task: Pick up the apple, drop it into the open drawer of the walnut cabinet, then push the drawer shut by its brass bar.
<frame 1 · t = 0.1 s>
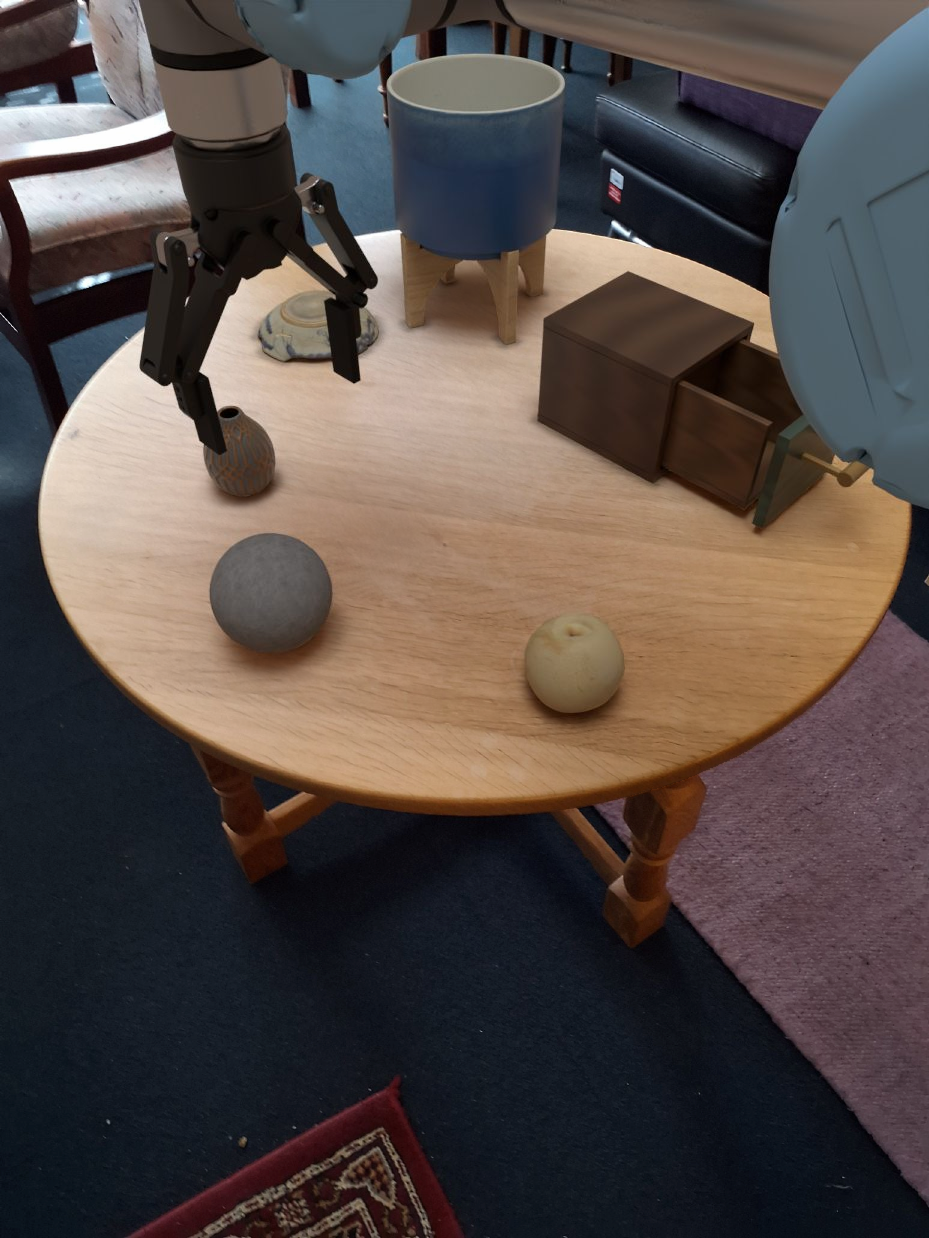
hand: (283, 410, 73), 16 cm above the table, tool pointing down, fingers open, 13 cm apart
decorative ball: (281, 634, 78), on the table
cabinet: (632, 423, 98), on the table
drawer: (768, 435, 86), point 6 cm above the table, slide at 11.0 cm
planter: (475, 310, 116), on the table
decorative bowl: (318, 334, 112), on the table
apple: (570, 689, 74), on the table
vase: (246, 485, 92), on the table
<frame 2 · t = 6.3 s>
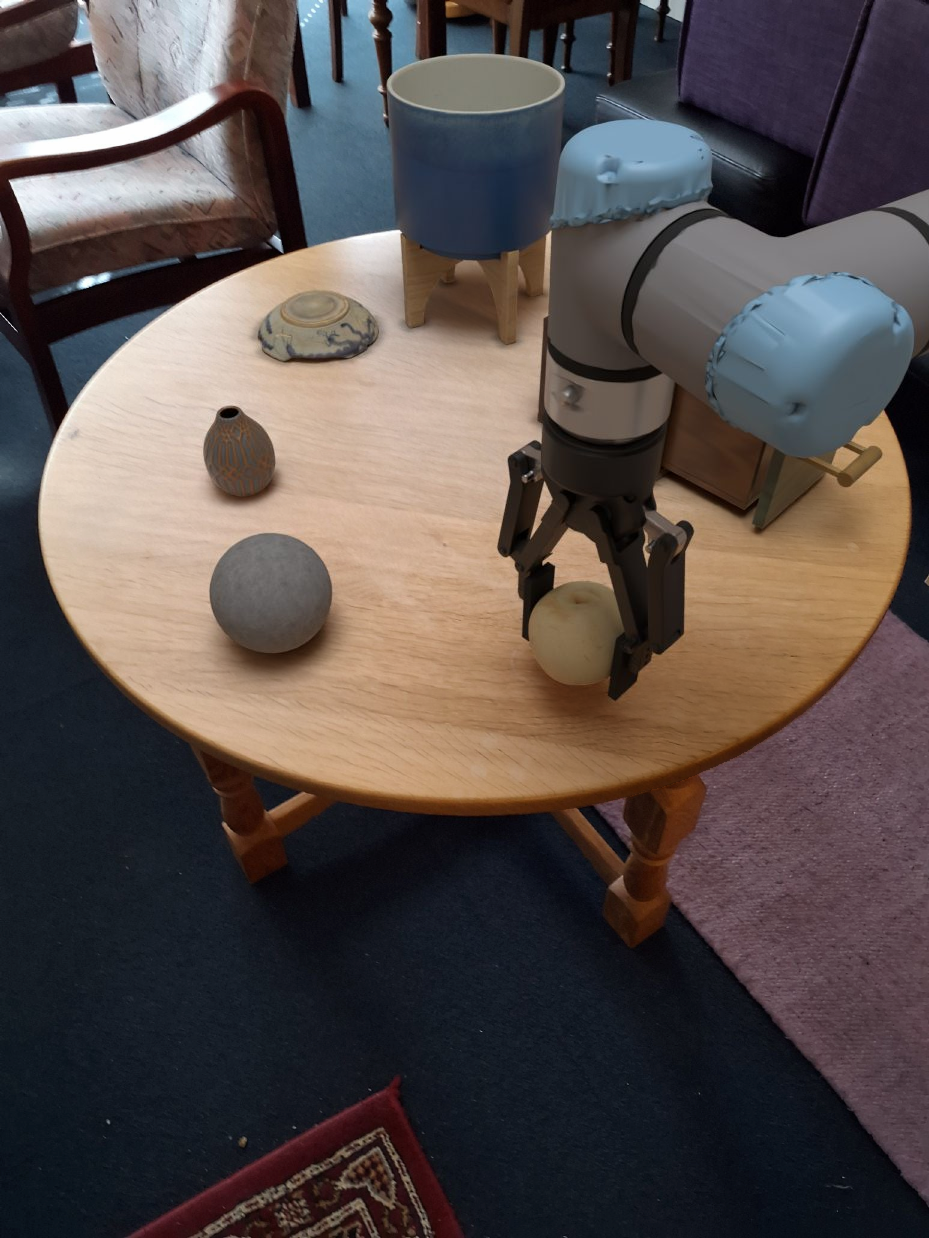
hand: (577, 658, 70), 4 cm above the table, tool pointing down, fingers closed on apple, 8 cm apart
apple: (577, 662, 71), point 4 cm above the table, touching gripper
everything else where it was.
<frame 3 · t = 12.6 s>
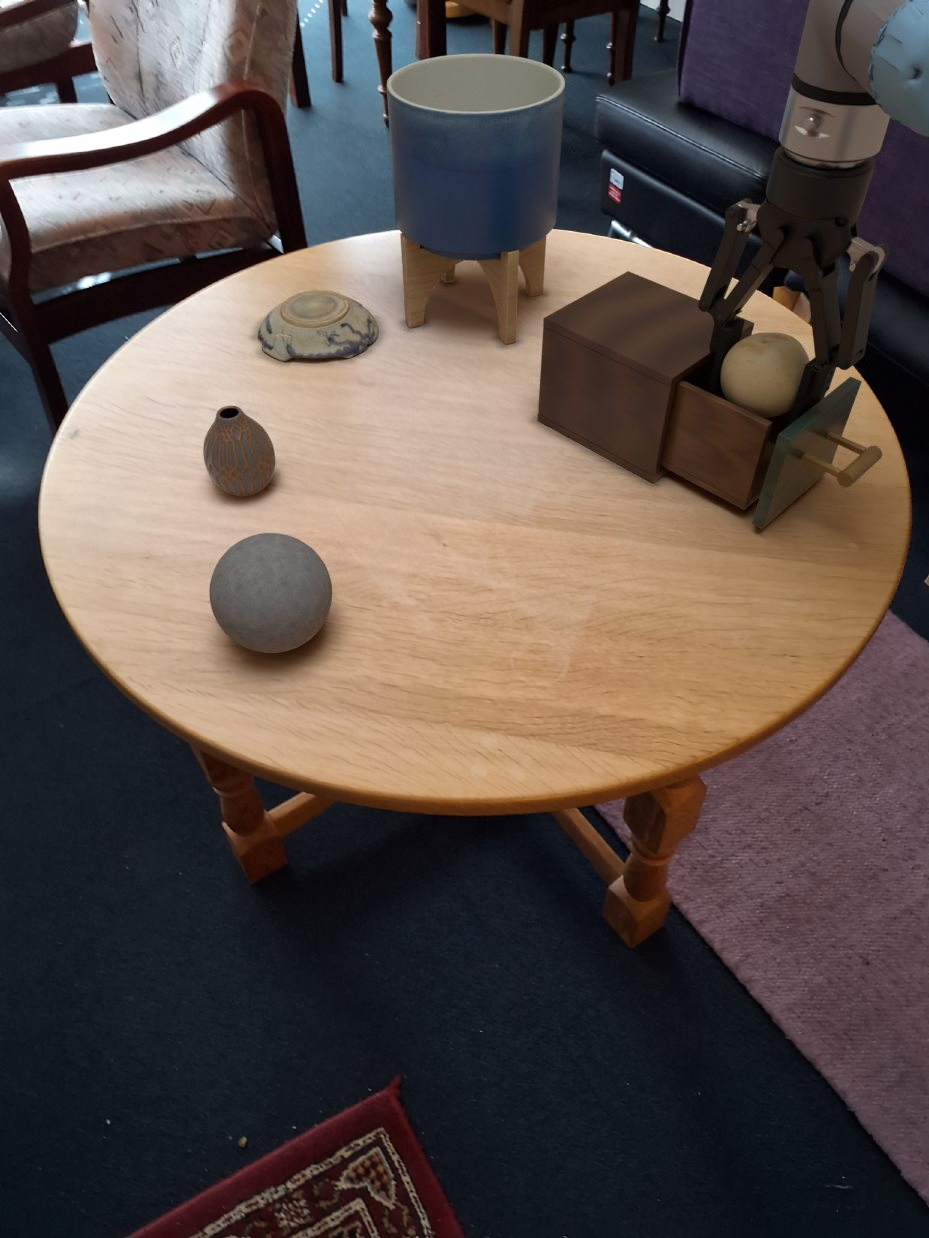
hand: (757, 402, 85), 9 cm above the table, tool pointing down, fingers closed on apple, 8 cm apart
apple: (756, 406, 86), point 8 cm above the table, touching gripper
everything else where it was.
when the fingers open (9 cm above the table, at t = 12.8 s): apple drops 7 cm, resting on drawer.
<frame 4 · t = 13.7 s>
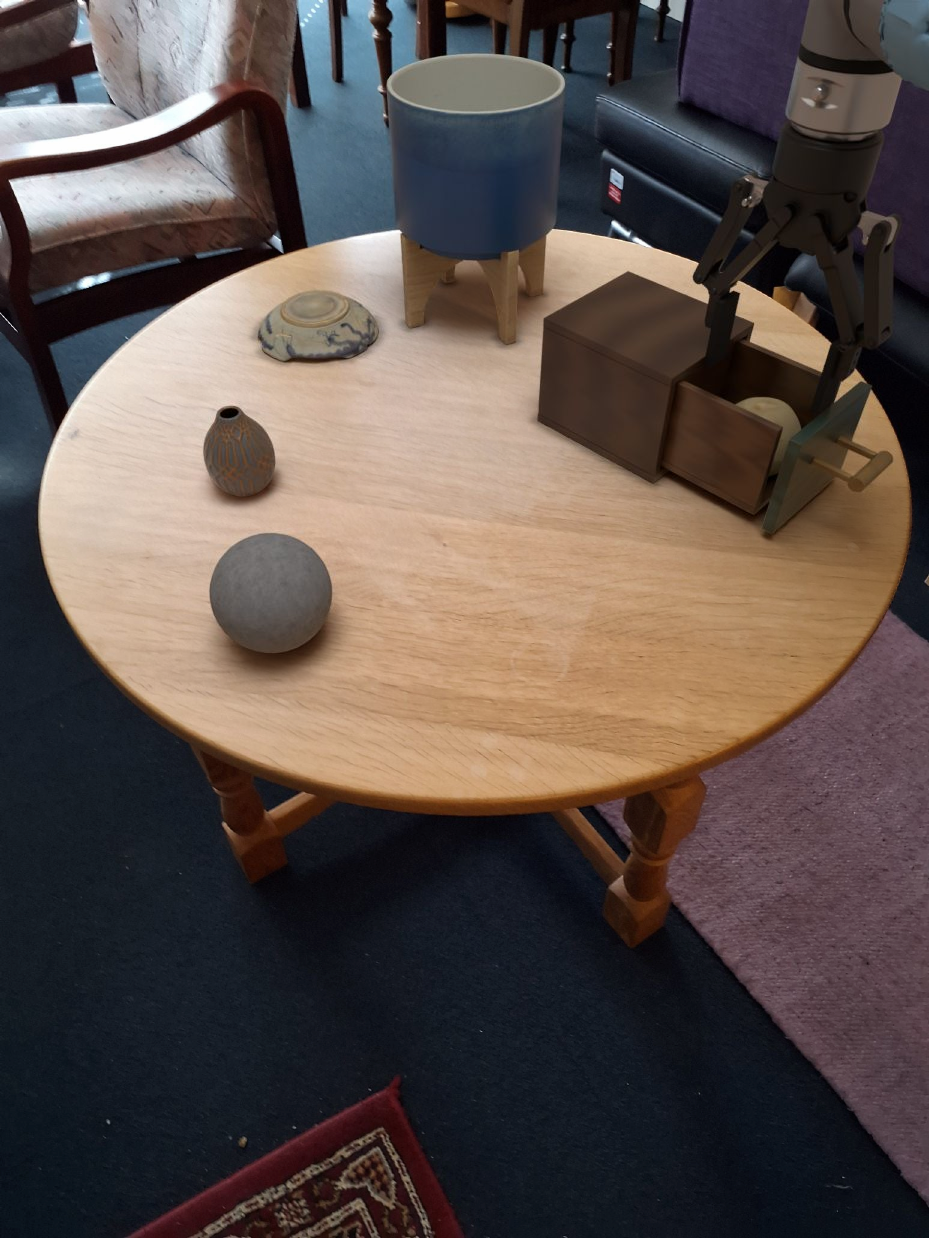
hand: (766, 383, 83), 11 cm above the table, tool pointing down, fingers open, 11 cm apart
drawer: (778, 440, 86), point 6 cm above the table, slide at 12.1 cm, touching apple, gripper
apple: (750, 466, 90), point 2 cm above the table, touching drawer
everything else where it was.
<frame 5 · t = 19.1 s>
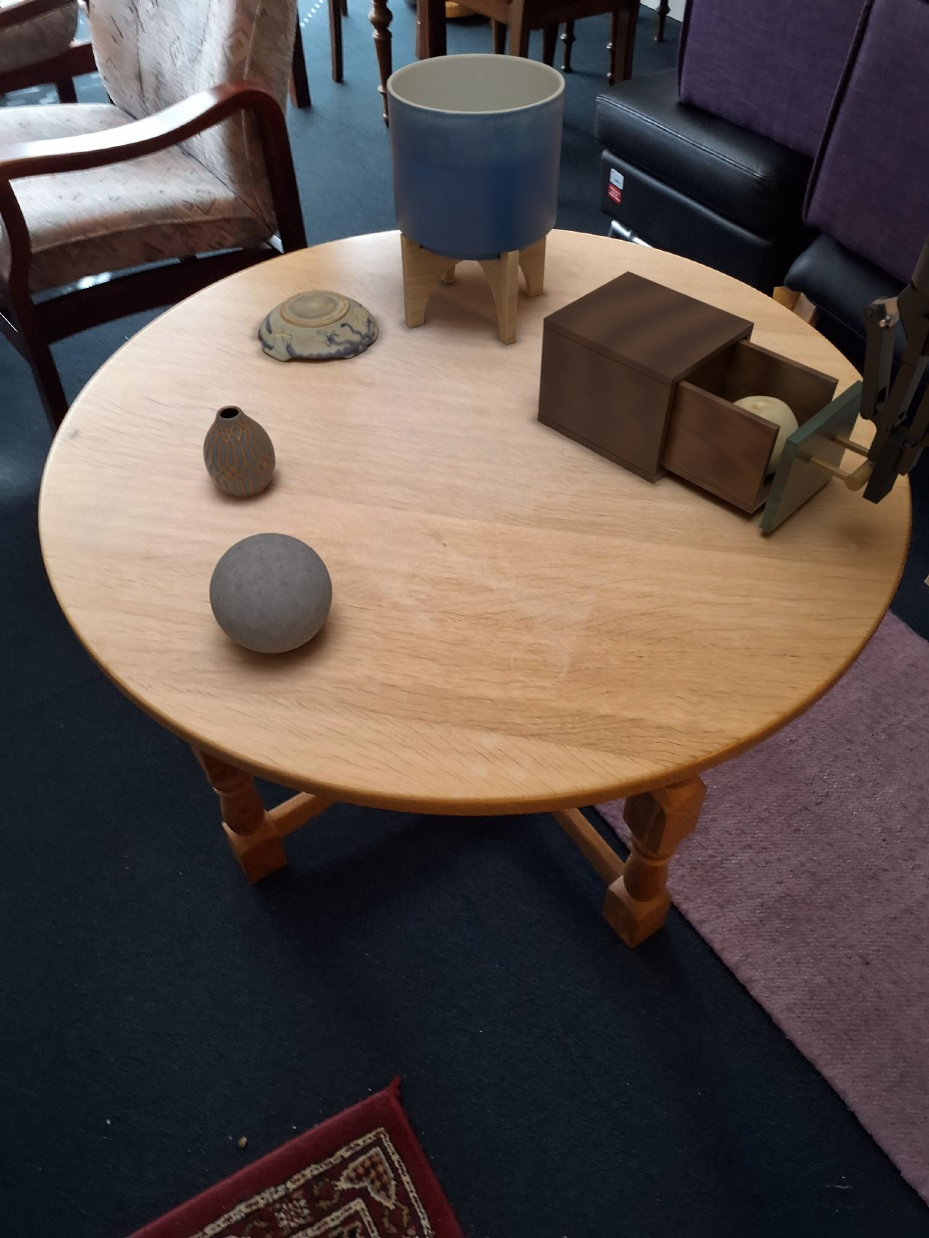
hand: (876, 493, 82), 5 cm above the table, tool pointing down, fingers closed
nothing on the table moved.
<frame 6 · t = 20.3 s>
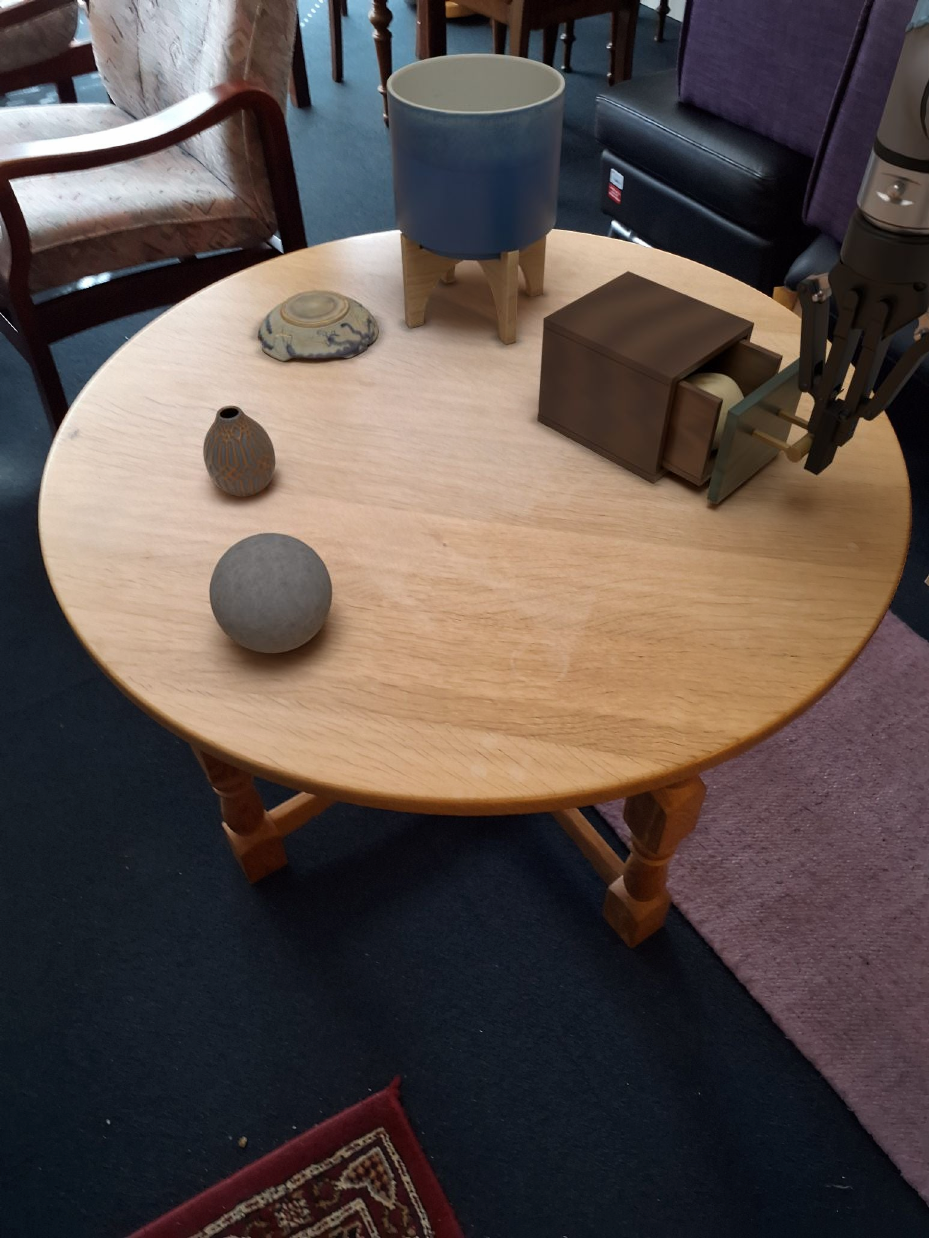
hand: (817, 465, 84), 5 cm above the table, tool pointing down, fingers closed
drawer: (722, 413, 89), point 6 cm above the table, slide at 5.8 cm, touching apple, gripper
apple: (698, 440, 93), point 2 cm above the table, touching drawer
everything else where it was.
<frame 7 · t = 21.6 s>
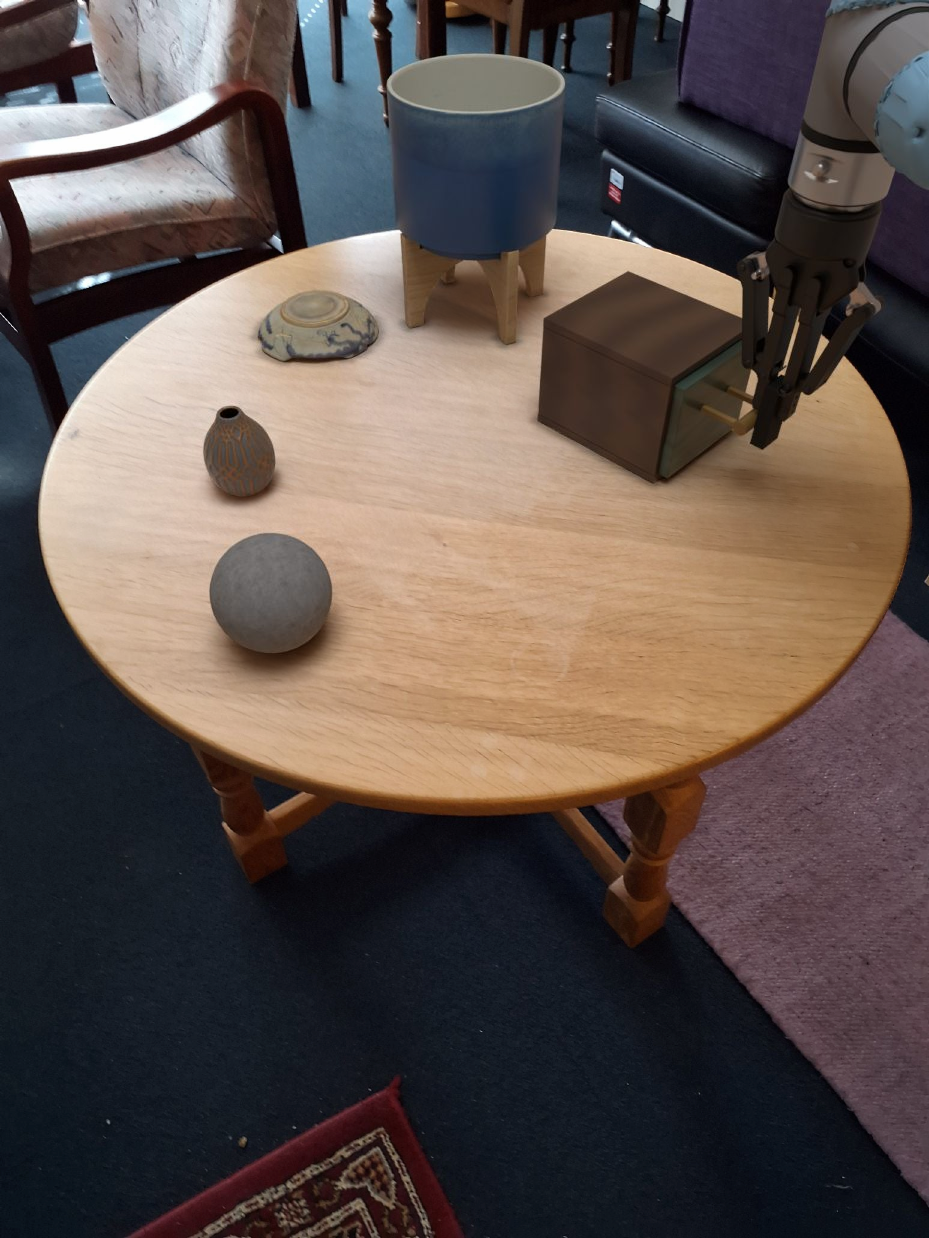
hand: (763, 440, 87), 5 cm above the table, tool pointing down, fingers closed
drawer: (674, 390, 92), point 6 cm above the table, slide at 0.0 cm, touching apple, cabinet, gripper
apple: (652, 417, 96), point 2 cm above the table, touching drawer
everything else where it was.
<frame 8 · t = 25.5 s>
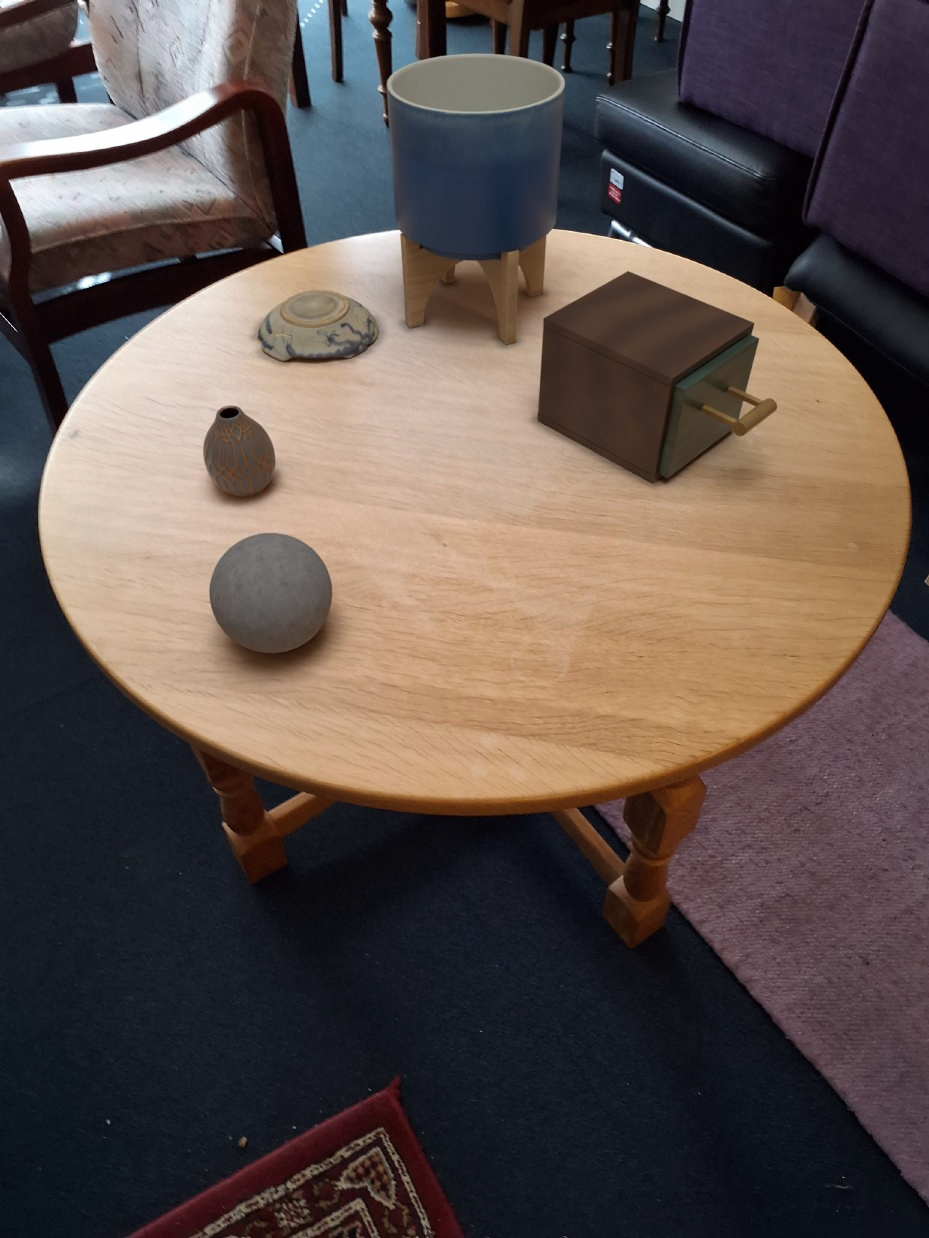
drawer: (674, 390, 92), point 6 cm above the table, slide at 0.0 cm, touching apple
everything else where it was.
at the end: apple inside the target area in the cabinet (2.4 cm from its centre), point 1.9 cm above the cabinet's base; drawer slide at 0.0 cm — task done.
